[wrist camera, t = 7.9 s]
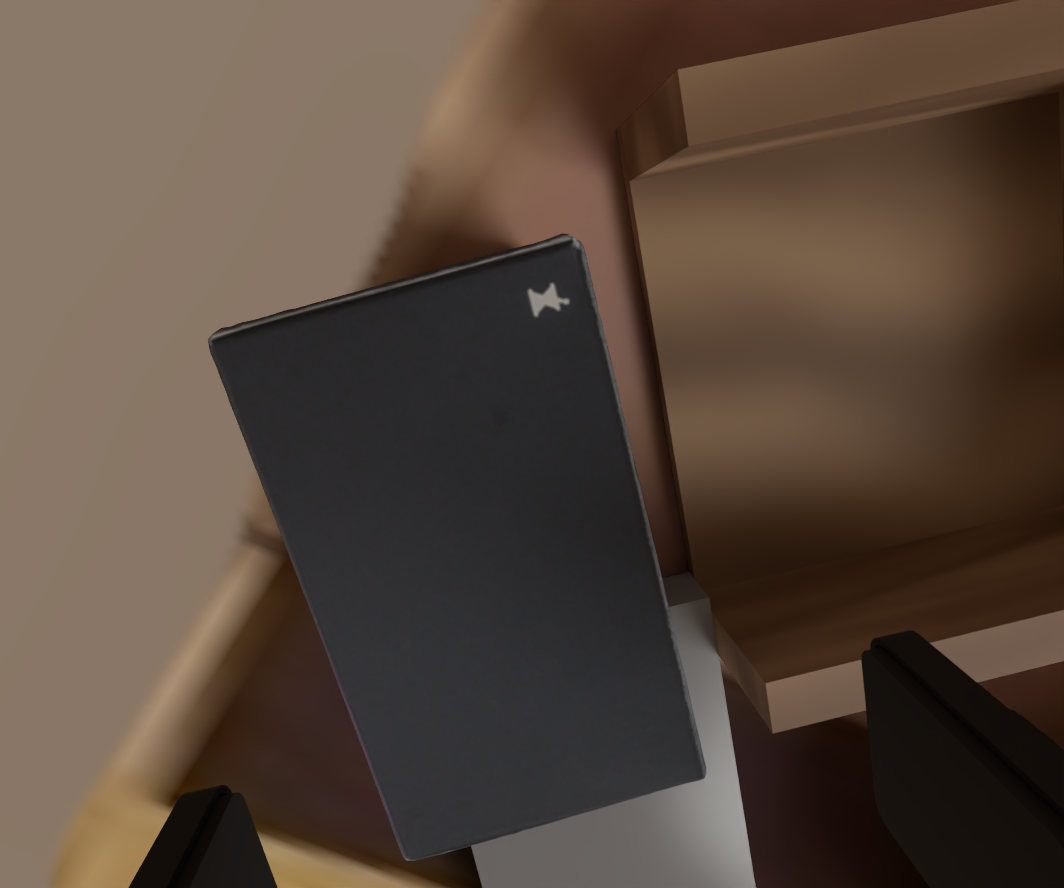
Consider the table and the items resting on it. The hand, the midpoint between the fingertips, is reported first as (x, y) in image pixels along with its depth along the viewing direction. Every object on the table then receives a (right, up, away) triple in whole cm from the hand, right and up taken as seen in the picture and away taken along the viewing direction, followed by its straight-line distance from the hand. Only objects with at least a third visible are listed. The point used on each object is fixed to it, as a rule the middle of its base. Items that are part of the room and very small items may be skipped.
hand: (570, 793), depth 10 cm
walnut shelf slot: (+10, +8, +12) cm, 18 cm away
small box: (-2, +5, +12) cm, 13 cm away
